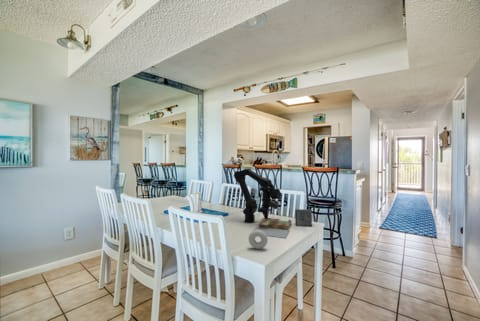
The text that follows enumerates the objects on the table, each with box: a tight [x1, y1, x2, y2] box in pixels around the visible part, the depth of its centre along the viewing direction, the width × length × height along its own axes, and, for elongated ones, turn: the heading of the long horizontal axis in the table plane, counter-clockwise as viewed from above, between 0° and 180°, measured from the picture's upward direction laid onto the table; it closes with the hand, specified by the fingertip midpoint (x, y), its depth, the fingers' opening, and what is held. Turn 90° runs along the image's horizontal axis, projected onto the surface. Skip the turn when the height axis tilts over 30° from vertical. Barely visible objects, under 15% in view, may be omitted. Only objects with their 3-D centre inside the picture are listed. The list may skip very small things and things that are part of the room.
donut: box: [248, 229, 269, 250], centre depth 120 cm, size 10×4×10 cm, turn 80°
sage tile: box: [278, 217, 291, 224], centre depth 158 cm, size 6×8×2 cm
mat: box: [252, 226, 290, 239], centre depth 145 cm, size 22×14×1 cm, turn 69°
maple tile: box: [258, 218, 270, 225], centre depth 155 cm, size 6×8×2 cm
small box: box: [294, 208, 313, 227], centre depth 161 cm, size 11×6×10 cm, turn 84°
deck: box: [258, 217, 292, 231], centre depth 159 cm, size 20×14×3 cm
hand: (266, 219), depth 160 cm, fingers closed
